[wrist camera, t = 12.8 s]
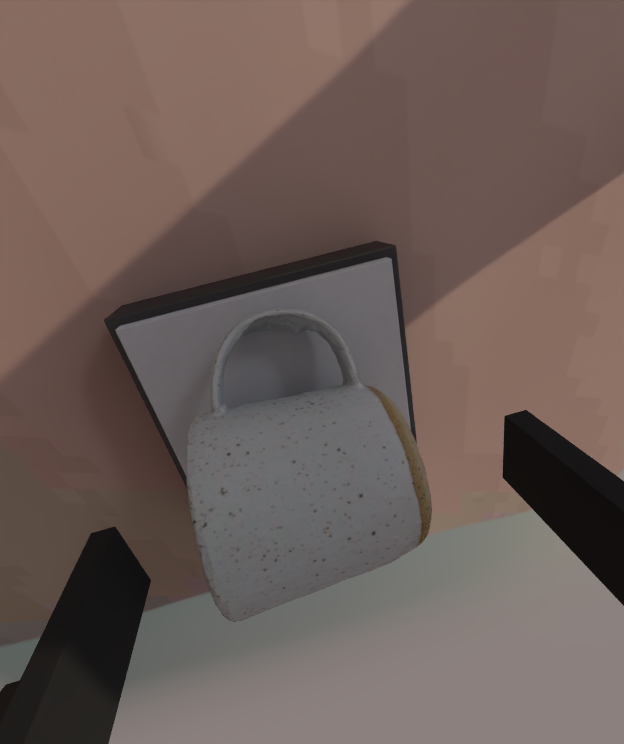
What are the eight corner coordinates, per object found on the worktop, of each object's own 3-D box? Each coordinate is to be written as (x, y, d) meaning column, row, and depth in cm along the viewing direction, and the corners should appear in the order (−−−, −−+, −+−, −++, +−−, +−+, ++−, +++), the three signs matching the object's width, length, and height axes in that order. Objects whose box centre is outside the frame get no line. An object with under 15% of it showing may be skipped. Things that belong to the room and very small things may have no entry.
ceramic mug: (380, 470, 20) (452, 603, 13) (237, 509, 19) (233, 671, 12) (355, 283, 16) (444, 334, 9) (168, 325, 15) (105, 417, 8)
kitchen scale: (377, 240, 18) (401, 245, 15) (404, 454, 24) (425, 486, 21) (120, 305, 17) (97, 324, 14) (216, 511, 23) (212, 551, 20)
